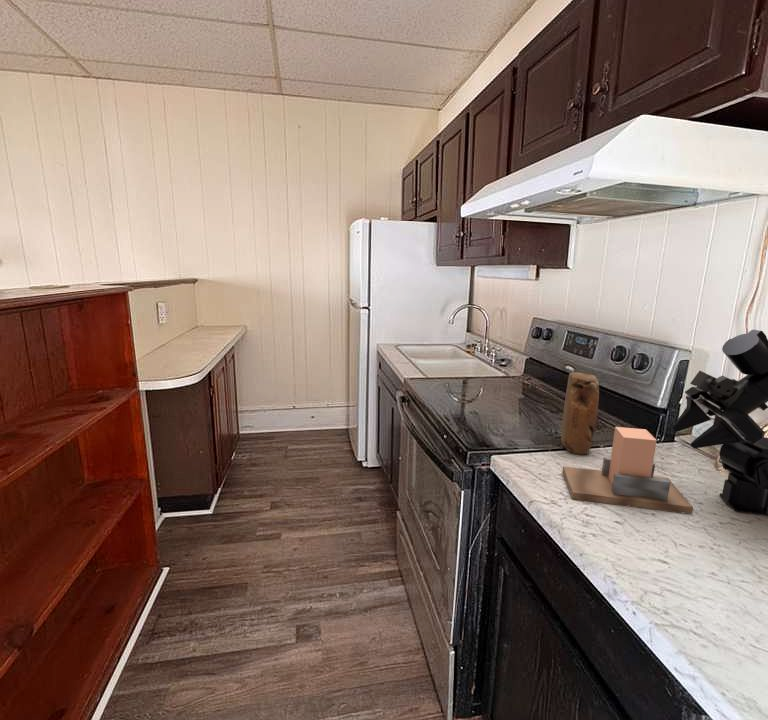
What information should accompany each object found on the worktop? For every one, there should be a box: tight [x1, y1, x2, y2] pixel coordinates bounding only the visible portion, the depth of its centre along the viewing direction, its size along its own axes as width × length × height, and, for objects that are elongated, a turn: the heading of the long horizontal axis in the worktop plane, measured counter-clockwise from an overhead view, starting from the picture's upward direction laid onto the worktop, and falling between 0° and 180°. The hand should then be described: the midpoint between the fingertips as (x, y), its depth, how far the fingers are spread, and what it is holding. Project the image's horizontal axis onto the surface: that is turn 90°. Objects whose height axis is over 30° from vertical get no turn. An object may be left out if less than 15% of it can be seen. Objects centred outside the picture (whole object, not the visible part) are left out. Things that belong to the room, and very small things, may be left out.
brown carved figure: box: [560, 371, 600, 455], centre depth 111 cm, size 11×8×20 cm
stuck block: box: [608, 426, 658, 484], centre depth 89 cm, size 6×6×12 cm
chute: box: [562, 456, 694, 514], centre depth 90 cm, size 22×12×6 cm, turn 77°
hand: (682, 437), depth 86 cm, fingers open, 8 cm apart
